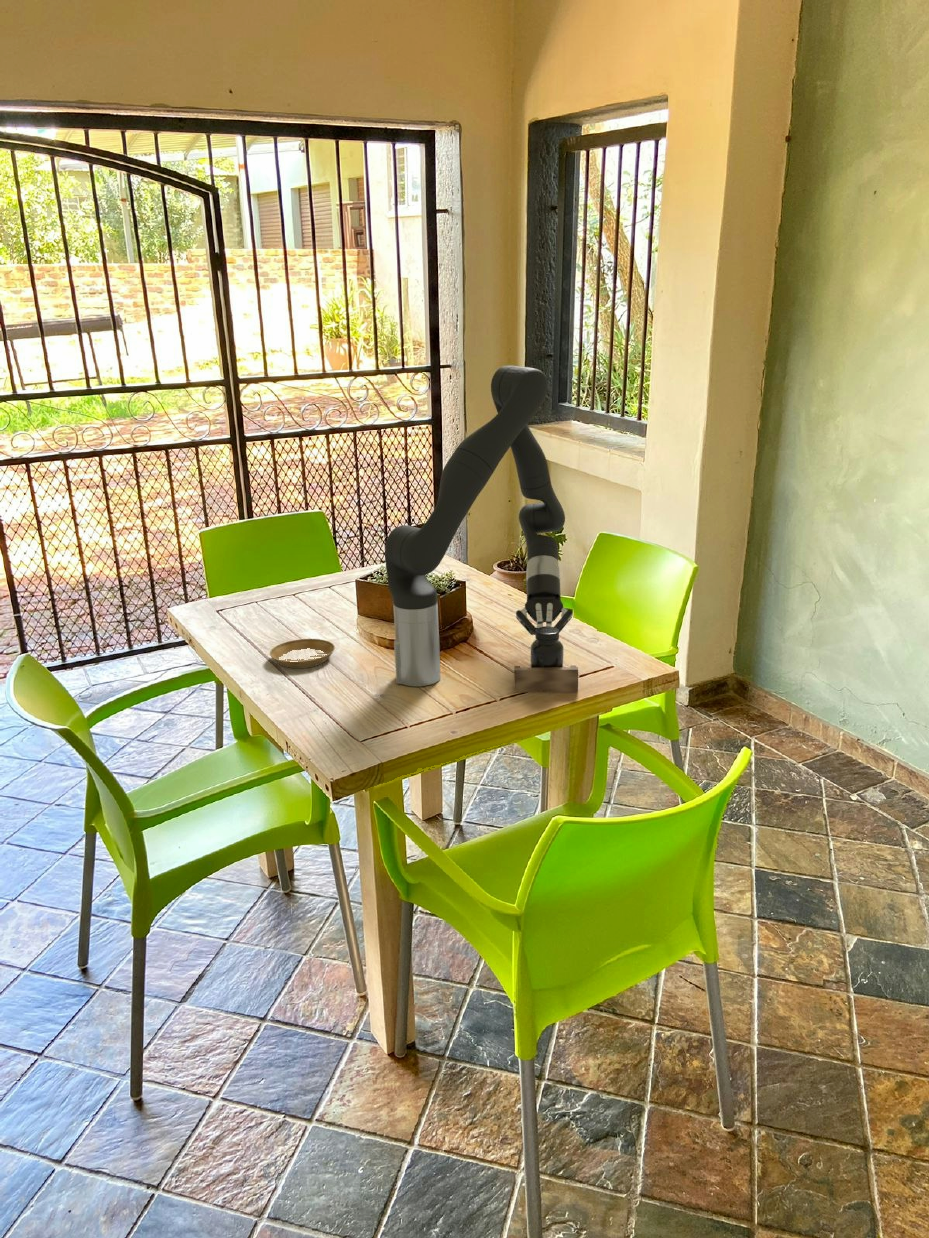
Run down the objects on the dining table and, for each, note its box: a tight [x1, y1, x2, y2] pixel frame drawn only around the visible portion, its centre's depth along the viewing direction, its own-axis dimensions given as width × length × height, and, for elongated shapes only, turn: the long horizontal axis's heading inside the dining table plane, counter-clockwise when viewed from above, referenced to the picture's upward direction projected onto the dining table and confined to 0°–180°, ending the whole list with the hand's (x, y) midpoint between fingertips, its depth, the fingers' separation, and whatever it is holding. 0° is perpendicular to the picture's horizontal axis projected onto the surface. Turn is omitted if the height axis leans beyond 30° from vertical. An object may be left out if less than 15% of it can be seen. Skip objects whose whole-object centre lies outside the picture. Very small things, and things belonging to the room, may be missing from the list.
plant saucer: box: [269, 638, 336, 669], centre depth 205 cm, size 15×15×3 cm
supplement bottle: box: [529, 625, 564, 668], centre depth 186 cm, size 7×7×12 cm
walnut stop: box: [513, 665, 579, 693], centre depth 186 cm, size 13×6×5 cm, turn 87°
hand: (545, 651), depth 194 cm, fingers closed
